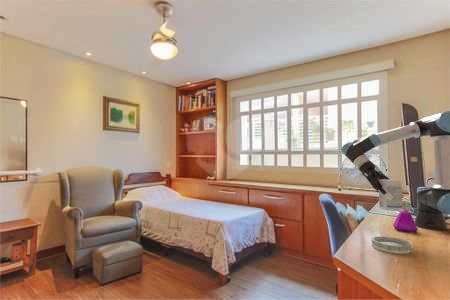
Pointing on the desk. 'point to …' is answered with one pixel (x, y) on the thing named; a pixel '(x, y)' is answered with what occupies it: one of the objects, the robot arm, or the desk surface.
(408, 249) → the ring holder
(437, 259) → the desk surface
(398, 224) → the magenta faceted rounded piece
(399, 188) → the supplement tub
